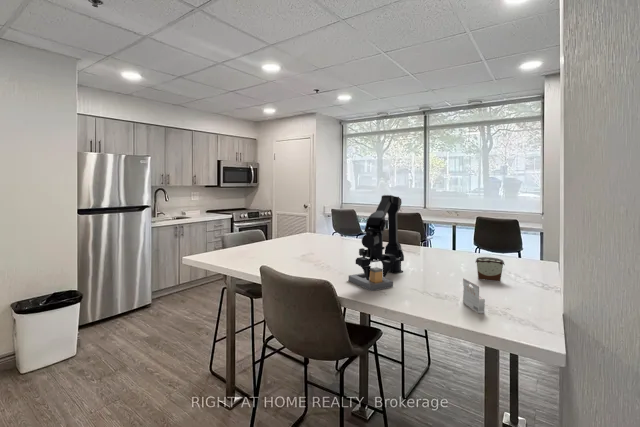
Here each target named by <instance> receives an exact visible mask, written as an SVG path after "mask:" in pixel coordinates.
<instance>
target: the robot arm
mask: <svg viewBox="0 0 640 427" xmlns="http://www.w3.org/2000/svg"><path fill="white" fill-rule="evenodd" d="M401 206H402V198H400V196H397V195H396V196H395V195H392V194H383V195H381V199H380V202H379V204H378V206H377V207H376V210H375V211H374V212H373V213H371V214H370V215H369V216H368V217H367V220H366V222H365V223H366V224H365V228H364V233H365V234H364V235H363V236H362V237H361V245H363V247H364V248H358V255H359V256H360V257H356V258H355V265H358V266H359V267H361V269H362V270H363V273H364V274H365V276H366V279H367V280H369V277H370V269H371V268H372V266H371V263H376V262H381V264H382V269H383V270H382V277H383V278H386V276H387V275H388V273H391V274H397V273H403V272H404V270H402V262H405V255H404V252H403V249H402V244H401V243H400V241H399V236H398V235H399V233H398V232H399V229H398V222H399V221H398V214H399V211H400V210H401V208H402V207H401ZM386 215H387V219H388V220H386ZM387 222H388V223H387ZM387 224H388V229H387V231H388V242H387V244H386V245H385V246H383V245H384V244H383V242H384V240H383V239H384V236H383V235H384V232H385V229H386V225H387ZM365 248H366V249H365ZM383 251H384V252H383Z"/></svg>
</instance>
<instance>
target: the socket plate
mask: <svg viewBox="0 0 640 427" xmlns="http://www.w3.org/2000/svg"><path fill="white" fill-rule="evenodd" d="M348 281H349V282H351V283H352V284H355V285H357V286H359V287H361V288H363V289H366V290H368V291H370V292H373V291H378V290H383V289H388V288H389V289H390V288H393V287H394V281H393V280H391V279H389V278H386V277H383V276H382V282H379V283H373V282H371V281H370V277H369V280H367V279H366V276H365V274H364V272H362V273H356V274H350V275H348Z"/></svg>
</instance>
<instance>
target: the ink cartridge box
mask: <svg viewBox="0 0 640 427" xmlns="http://www.w3.org/2000/svg"><path fill="white" fill-rule="evenodd" d="M462 282H463V283H462V284H463V291H462V292H463V293H462V303H463V304H464V305H466V306H467V307H468V308H470V309H472V310H473V311H474V312H476V313H477V314H485V307H486V306H485V305H486V303H485V302H486V299H485V298H483V297H482V296H480V286H479V285H477V284H475V283H473V282H471V281H469V280H467V279H465V278H463V279H462ZM470 285H471V286H470Z"/></svg>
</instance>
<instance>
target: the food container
mask: <svg viewBox="0 0 640 427" xmlns="http://www.w3.org/2000/svg"><path fill="white" fill-rule="evenodd" d="M475 264H476V271H477V272H476V273H477V280H480V281H490V282H498V283H499V282H500V283H501V280H502V274H503V267H504V266H505V261H504V260H503V259H501V258H497V257H489V256H481V257H477V258H476V259H475Z"/></svg>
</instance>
